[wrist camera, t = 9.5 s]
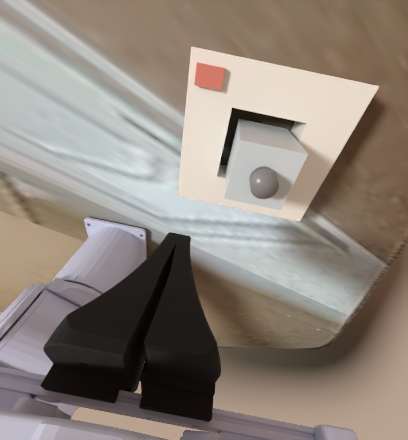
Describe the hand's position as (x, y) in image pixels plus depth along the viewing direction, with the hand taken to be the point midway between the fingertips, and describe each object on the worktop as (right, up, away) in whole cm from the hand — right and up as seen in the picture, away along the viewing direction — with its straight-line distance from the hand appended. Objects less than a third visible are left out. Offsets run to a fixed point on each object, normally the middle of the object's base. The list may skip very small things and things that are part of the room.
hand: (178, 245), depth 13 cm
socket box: (+6, +9, +5) cm, 12 cm away
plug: (+6, +8, +6) cm, 12 cm away
